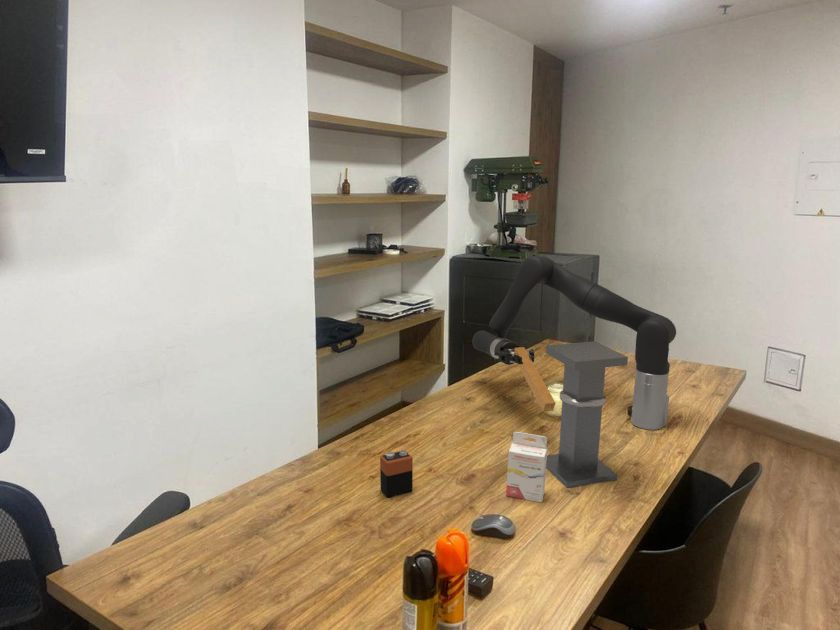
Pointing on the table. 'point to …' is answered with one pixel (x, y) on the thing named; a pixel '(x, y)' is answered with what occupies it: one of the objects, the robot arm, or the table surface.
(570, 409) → the stand
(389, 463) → the battery
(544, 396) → the bar
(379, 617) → the table surface
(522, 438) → the ink cartridge box
